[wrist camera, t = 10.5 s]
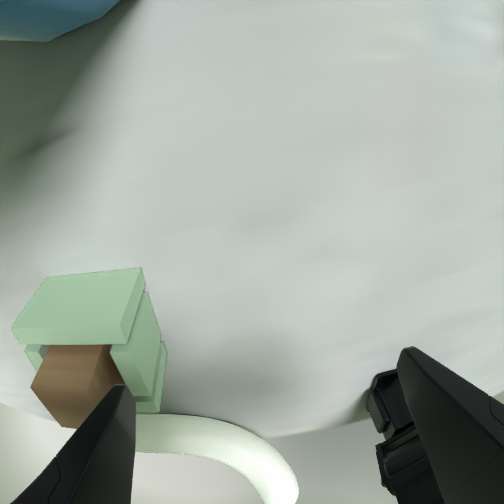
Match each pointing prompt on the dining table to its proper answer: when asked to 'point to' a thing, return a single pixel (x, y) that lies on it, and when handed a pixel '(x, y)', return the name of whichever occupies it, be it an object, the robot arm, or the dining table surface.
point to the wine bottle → (47, 17)
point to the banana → (220, 450)
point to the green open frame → (100, 326)
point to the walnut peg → (75, 381)
